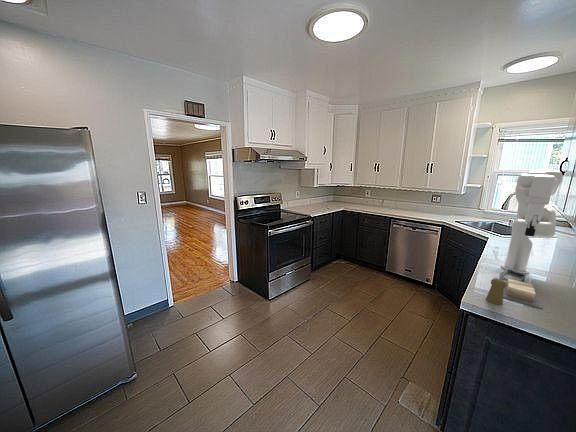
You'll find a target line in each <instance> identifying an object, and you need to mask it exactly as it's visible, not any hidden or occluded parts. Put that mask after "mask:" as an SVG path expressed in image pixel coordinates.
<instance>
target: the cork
mask: <svg viewBox="0 0 576 432" xmlns="http://www.w3.org/2000/svg"><path fill="white" fill-rule="evenodd" d="M506 282H507V281H506V280H504V279H501V278H496V277H495V278H492V279H491V280H490V284H491V286H490V288H489V290H488V293H487V294H486V298H485V300H486V302H488V303H490V304H492V305H497V306H503V304H504V298H503V289H504V288H505V287H506Z"/></svg>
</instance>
